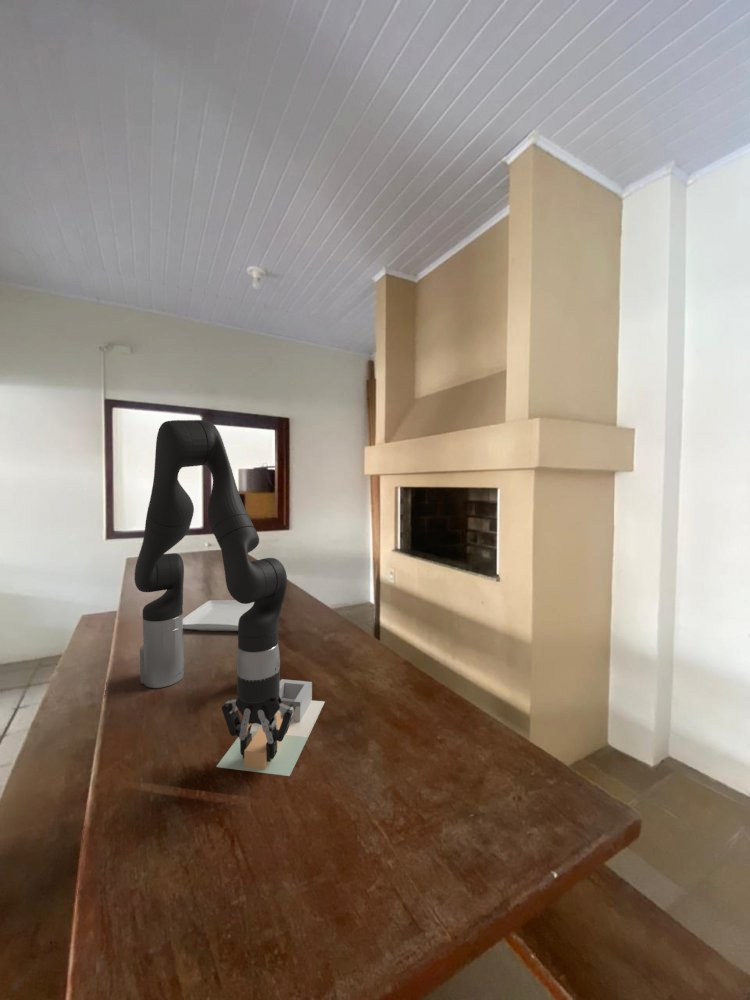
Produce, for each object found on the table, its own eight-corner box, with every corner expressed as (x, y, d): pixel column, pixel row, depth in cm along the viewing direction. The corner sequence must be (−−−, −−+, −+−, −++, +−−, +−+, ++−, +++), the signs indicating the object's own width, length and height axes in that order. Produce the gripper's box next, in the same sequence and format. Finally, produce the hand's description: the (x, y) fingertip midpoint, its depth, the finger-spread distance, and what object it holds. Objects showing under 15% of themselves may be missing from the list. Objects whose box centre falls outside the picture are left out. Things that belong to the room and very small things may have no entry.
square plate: (254, 636, 133) (254, 625, 133) (174, 634, 134) (173, 623, 133) (275, 609, 160) (275, 600, 160) (208, 608, 161) (208, 598, 160)
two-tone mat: (216, 771, 72) (215, 743, 71) (268, 700, 95) (268, 677, 94) (289, 781, 70) (289, 751, 69) (324, 705, 93) (325, 683, 92)
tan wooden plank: (244, 766, 72) (244, 750, 72) (270, 725, 84) (270, 711, 83) (265, 769, 71) (265, 753, 71) (288, 727, 83) (288, 713, 83)
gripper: (211, 674, 69) (212, 767, 70) (288, 681, 67) (288, 777, 68) (232, 655, 77) (233, 740, 78) (302, 661, 75) (302, 747, 76)
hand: (259, 756), depth 73 cm, fingers closed on tan wooden plank, 4 cm apart
